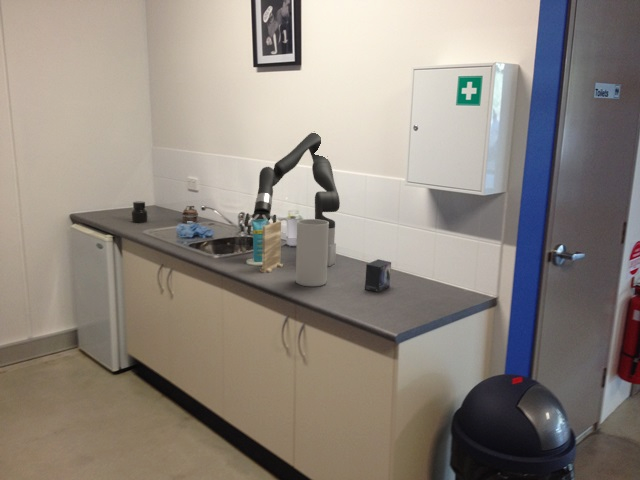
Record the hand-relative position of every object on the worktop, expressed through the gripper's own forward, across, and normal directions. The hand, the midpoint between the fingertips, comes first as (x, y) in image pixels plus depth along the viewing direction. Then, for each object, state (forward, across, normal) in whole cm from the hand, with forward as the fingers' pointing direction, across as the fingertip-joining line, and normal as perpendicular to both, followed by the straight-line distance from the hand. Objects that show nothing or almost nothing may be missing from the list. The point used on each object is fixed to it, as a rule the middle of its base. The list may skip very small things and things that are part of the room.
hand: (258, 234), depth 256 cm
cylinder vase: (+28, -26, +8) cm, 39 cm away
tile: (+9, 0, -10) cm, 14 cm away
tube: (+8, 0, -10) cm, 13 cm away
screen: (+15, -7, -4) cm, 17 cm away
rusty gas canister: (-53, +59, -72) cm, 107 cm away
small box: (+29, -53, +10) cm, 62 cm away
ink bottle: (-48, +88, -68) cm, 121 cm away
